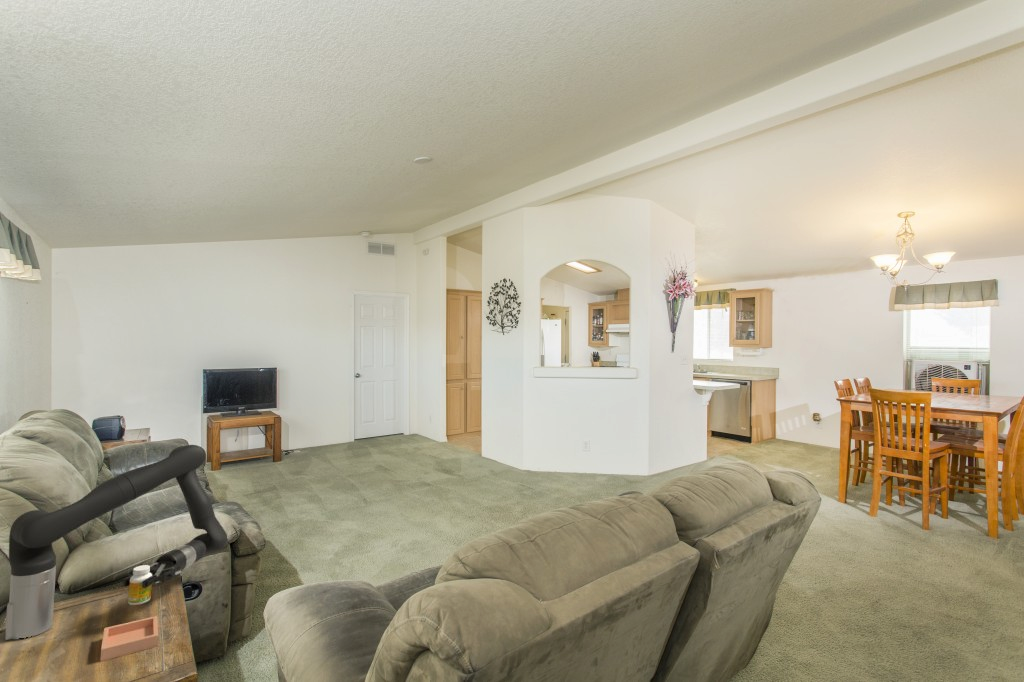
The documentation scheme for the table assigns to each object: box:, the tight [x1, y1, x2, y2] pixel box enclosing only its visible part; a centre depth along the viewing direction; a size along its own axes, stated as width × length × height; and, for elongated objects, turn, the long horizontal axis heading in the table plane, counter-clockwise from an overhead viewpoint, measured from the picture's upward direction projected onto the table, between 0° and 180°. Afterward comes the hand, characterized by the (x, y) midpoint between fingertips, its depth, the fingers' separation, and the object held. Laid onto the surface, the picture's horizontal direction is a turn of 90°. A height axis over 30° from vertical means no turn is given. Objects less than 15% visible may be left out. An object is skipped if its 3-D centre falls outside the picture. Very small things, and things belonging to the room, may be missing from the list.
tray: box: [100, 615, 159, 662], centre depth 136 cm, size 12×12×3 cm
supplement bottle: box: [127, 564, 153, 606], centre depth 147 cm, size 5×5×10 cm
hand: (134, 584), depth 144 cm, fingers closed on supplement bottle, 5 cm apart
